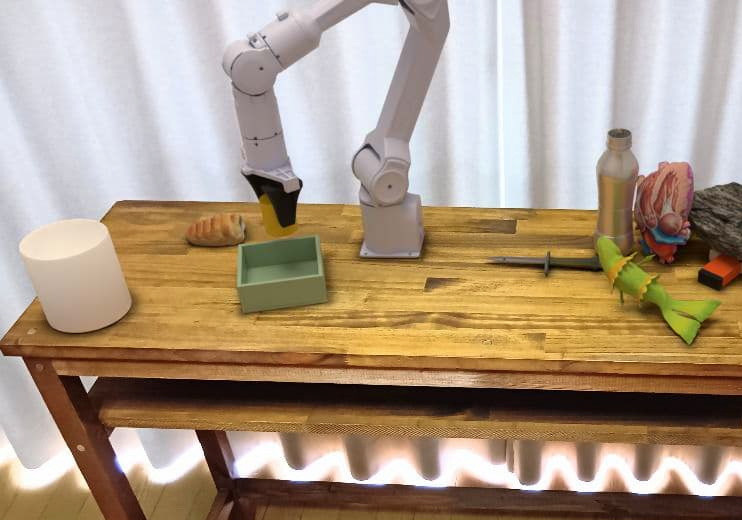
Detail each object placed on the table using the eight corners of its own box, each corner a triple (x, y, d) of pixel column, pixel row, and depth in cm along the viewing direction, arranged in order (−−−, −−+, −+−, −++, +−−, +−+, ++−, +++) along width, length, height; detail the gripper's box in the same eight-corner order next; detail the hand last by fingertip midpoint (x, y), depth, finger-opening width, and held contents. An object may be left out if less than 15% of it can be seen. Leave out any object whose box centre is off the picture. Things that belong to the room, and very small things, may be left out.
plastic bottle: (639, 247, 143) (648, 127, 131) (625, 268, 139) (633, 146, 126) (600, 240, 145) (606, 120, 133) (585, 260, 141) (590, 139, 128)
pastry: (186, 252, 145) (180, 231, 143) (188, 232, 150) (182, 211, 148) (246, 244, 147) (241, 223, 144) (246, 224, 152) (241, 204, 150)
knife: (485, 257, 143) (480, 274, 139) (484, 245, 141) (479, 262, 137) (604, 262, 140) (602, 279, 136) (604, 250, 139) (602, 268, 135)
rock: (736, 200, 145) (733, 167, 141) (801, 239, 134) (799, 204, 130) (674, 232, 143) (669, 198, 139) (735, 274, 131) (731, 239, 127)
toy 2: (728, 300, 133) (784, 254, 140) (730, 279, 130) (787, 233, 138) (686, 281, 137) (743, 237, 144) (688, 261, 135) (745, 217, 142)
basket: (323, 260, 143) (318, 234, 140) (327, 302, 133) (323, 275, 130) (244, 270, 141) (238, 244, 138) (243, 313, 131) (236, 286, 129)
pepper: (301, 221, 137) (293, 180, 133) (294, 237, 134) (286, 195, 129) (270, 221, 138) (261, 180, 133) (262, 237, 134) (253, 195, 130)
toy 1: (582, 244, 128) (574, 290, 133) (700, 305, 119) (687, 351, 124) (615, 226, 133) (606, 270, 138) (730, 283, 124) (717, 328, 129)
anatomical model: (646, 165, 142) (632, 261, 144) (627, 158, 138) (613, 257, 139) (708, 167, 135) (692, 267, 137) (690, 160, 131) (674, 263, 133)
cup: (36, 309, 133) (6, 237, 126) (112, 280, 139) (88, 210, 132) (65, 343, 126) (35, 269, 119) (145, 311, 132) (121, 239, 125)
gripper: (213, 123, 129) (234, 208, 137) (258, 156, 120) (277, 246, 128) (259, 110, 132) (276, 194, 141) (306, 142, 123) (321, 230, 132)
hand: (279, 218), depth 135 cm, fingers closed on pepper, 5 cm apart
